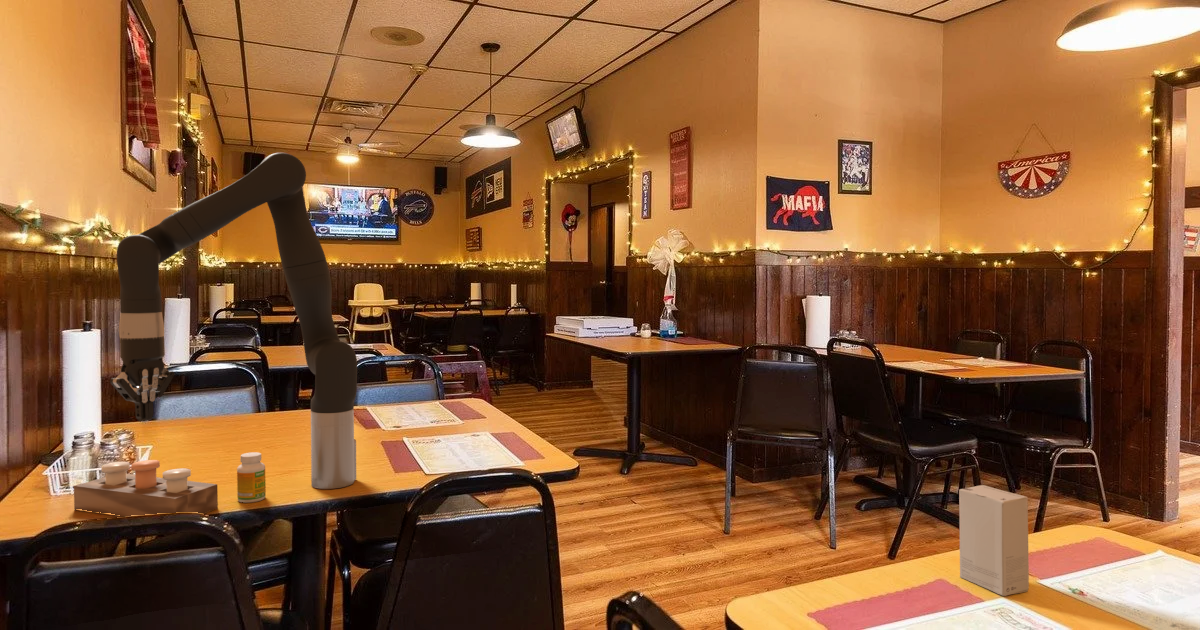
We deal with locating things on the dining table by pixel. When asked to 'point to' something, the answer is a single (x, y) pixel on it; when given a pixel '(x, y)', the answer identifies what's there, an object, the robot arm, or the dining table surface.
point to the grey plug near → (176, 479)
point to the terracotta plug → (145, 473)
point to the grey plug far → (115, 472)
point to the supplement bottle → (251, 478)
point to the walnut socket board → (144, 498)
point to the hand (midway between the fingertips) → (144, 420)
